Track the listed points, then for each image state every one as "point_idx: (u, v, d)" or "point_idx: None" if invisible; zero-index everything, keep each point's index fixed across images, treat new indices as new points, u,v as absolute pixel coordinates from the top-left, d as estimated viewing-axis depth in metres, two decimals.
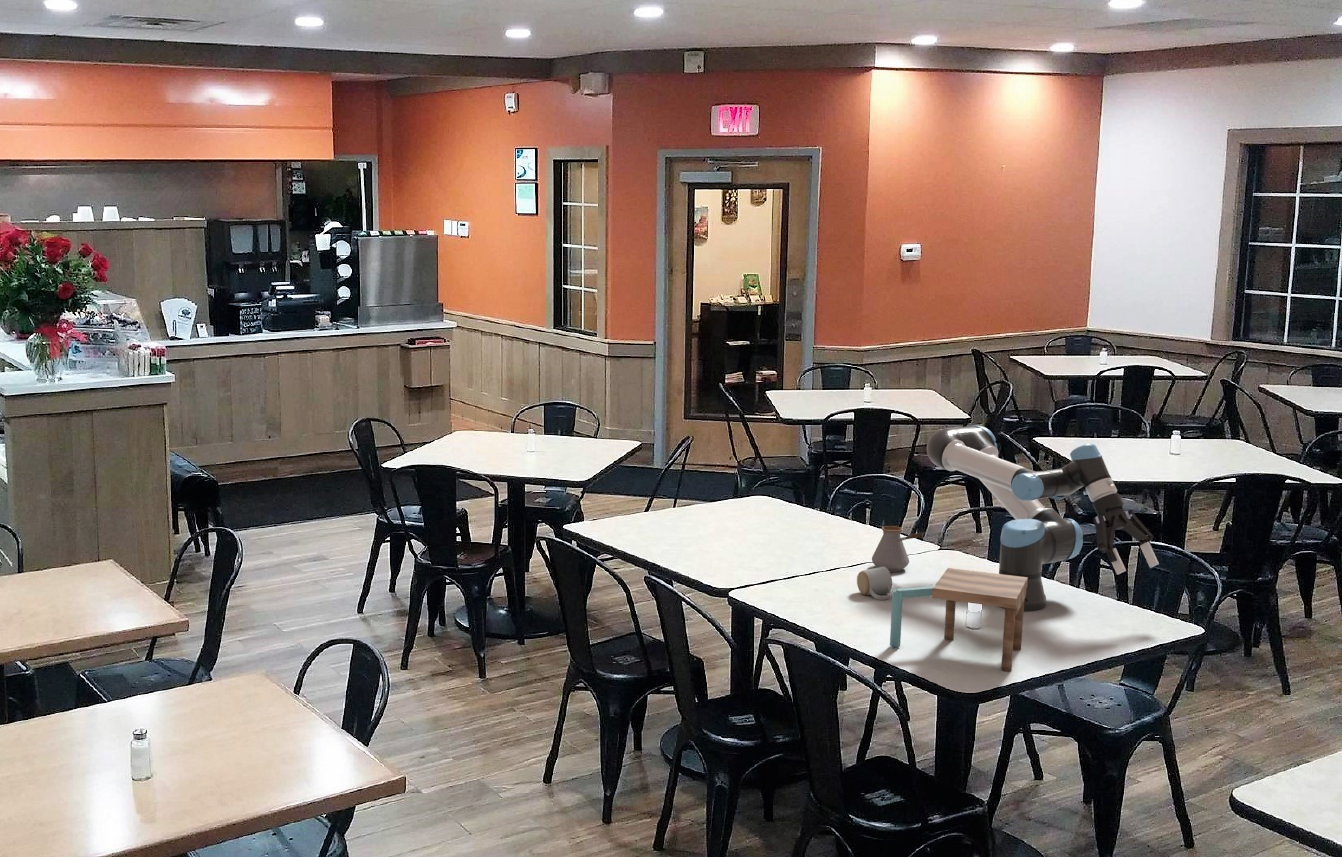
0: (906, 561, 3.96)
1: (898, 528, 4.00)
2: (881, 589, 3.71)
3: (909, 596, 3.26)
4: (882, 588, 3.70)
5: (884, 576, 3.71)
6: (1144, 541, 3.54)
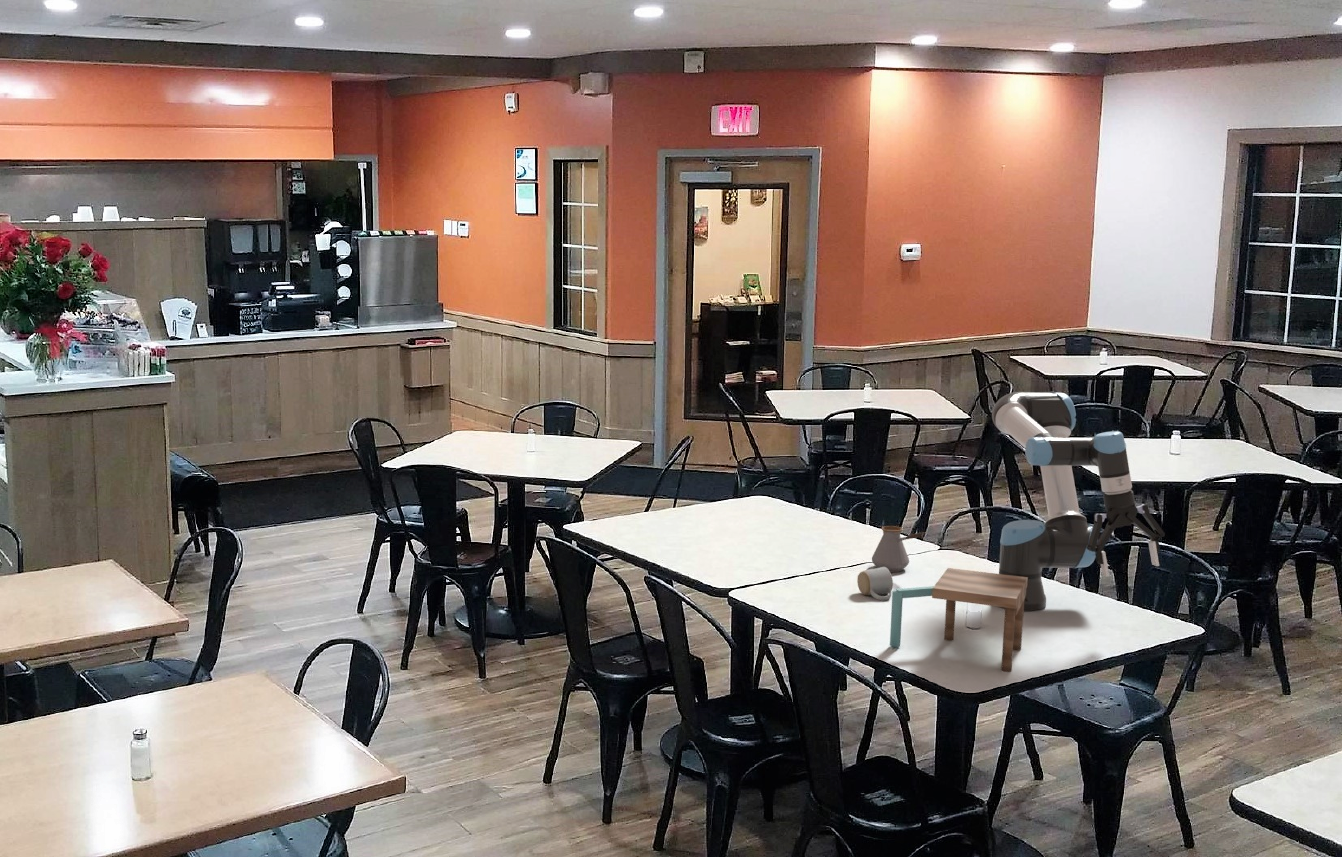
0: (906, 561, 3.96)
1: (898, 528, 4.00)
2: (882, 589, 3.70)
3: (909, 596, 3.26)
4: (883, 588, 3.70)
5: (885, 576, 3.70)
6: (1152, 538, 3.38)
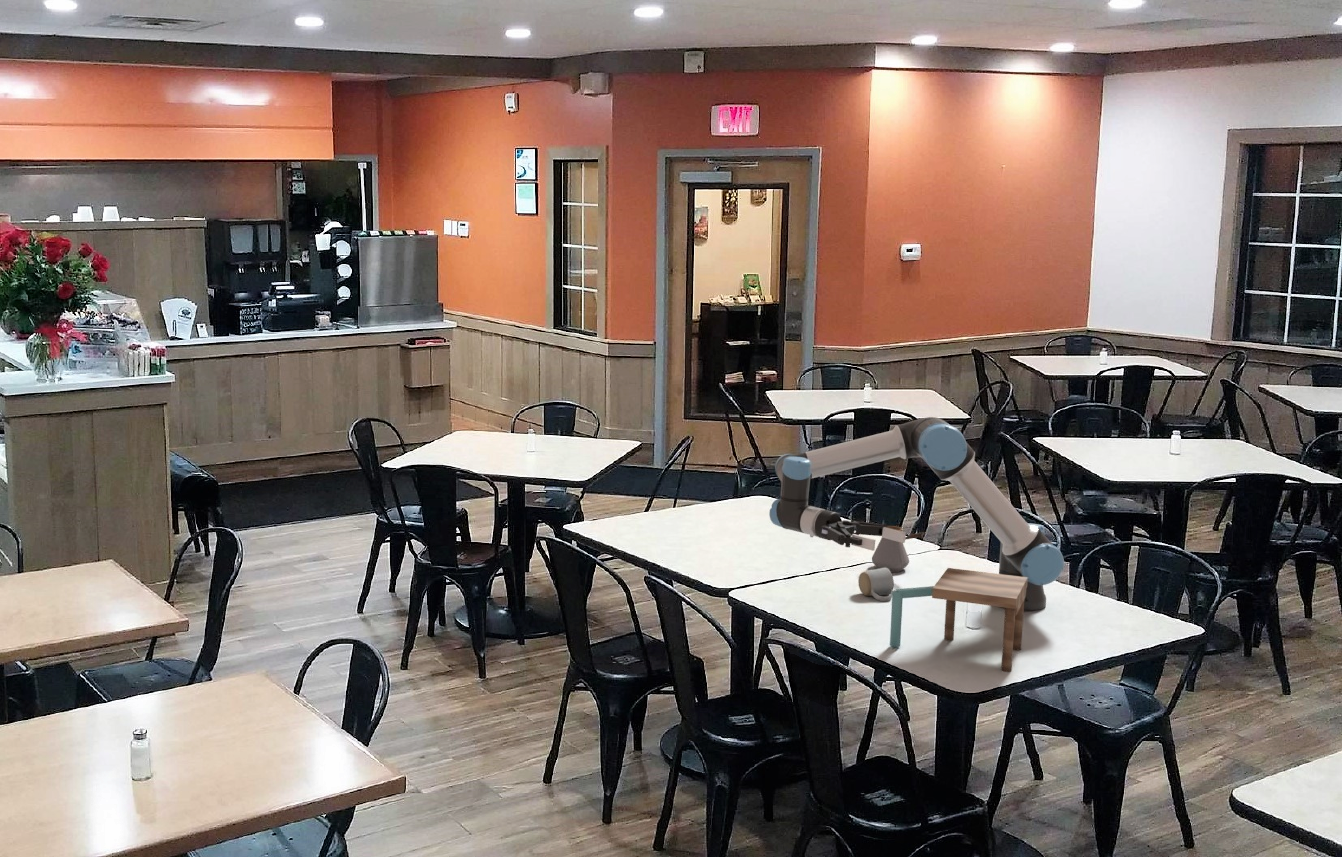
0: (906, 561, 3.96)
1: (898, 528, 4.00)
2: (883, 590, 3.70)
3: (909, 596, 3.26)
4: (884, 589, 3.70)
5: (886, 577, 3.70)
6: None
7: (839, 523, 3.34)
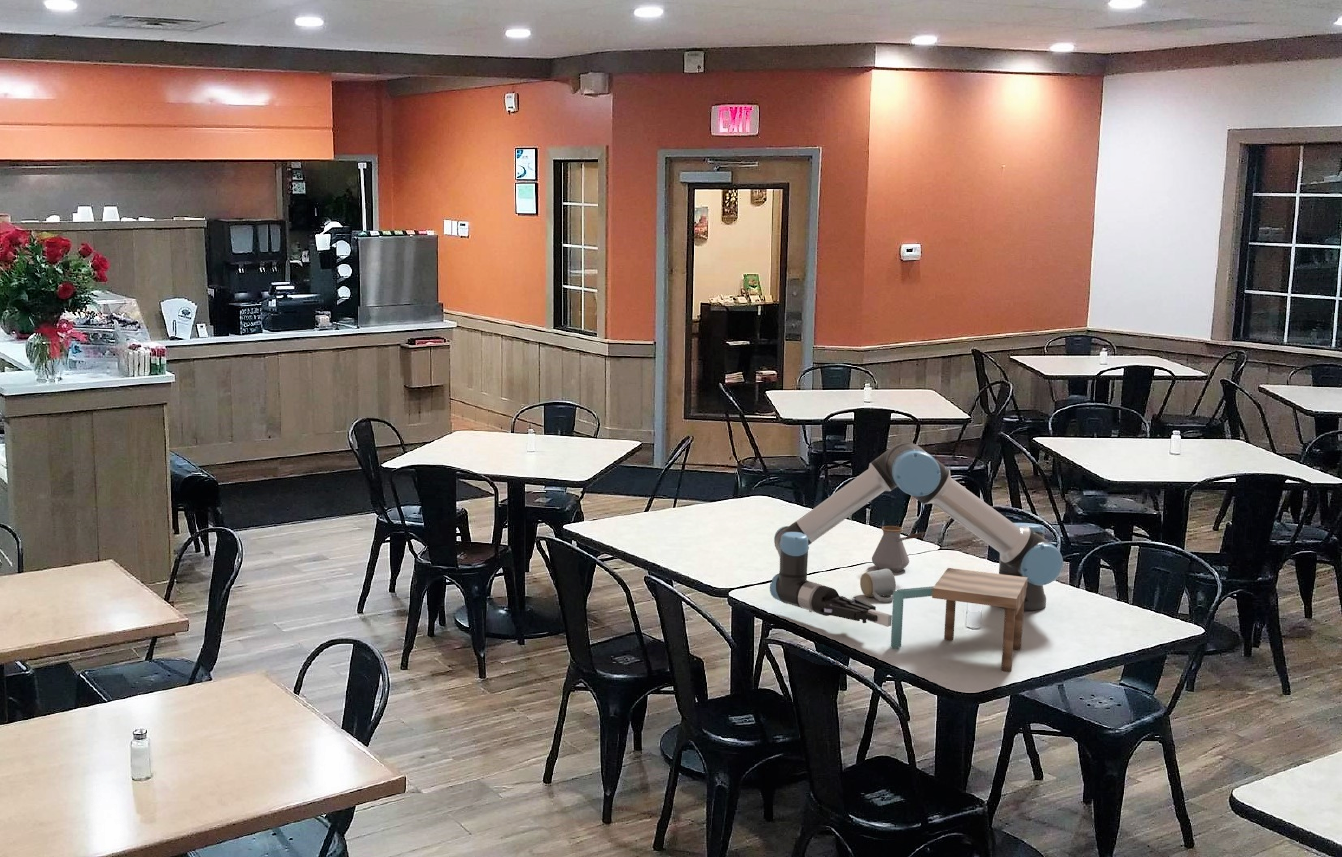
0: (906, 561, 3.96)
1: (898, 528, 4.00)
2: (884, 591, 3.69)
3: (910, 596, 3.26)
4: (885, 590, 3.69)
5: (888, 578, 3.69)
6: None
7: (837, 600, 3.37)
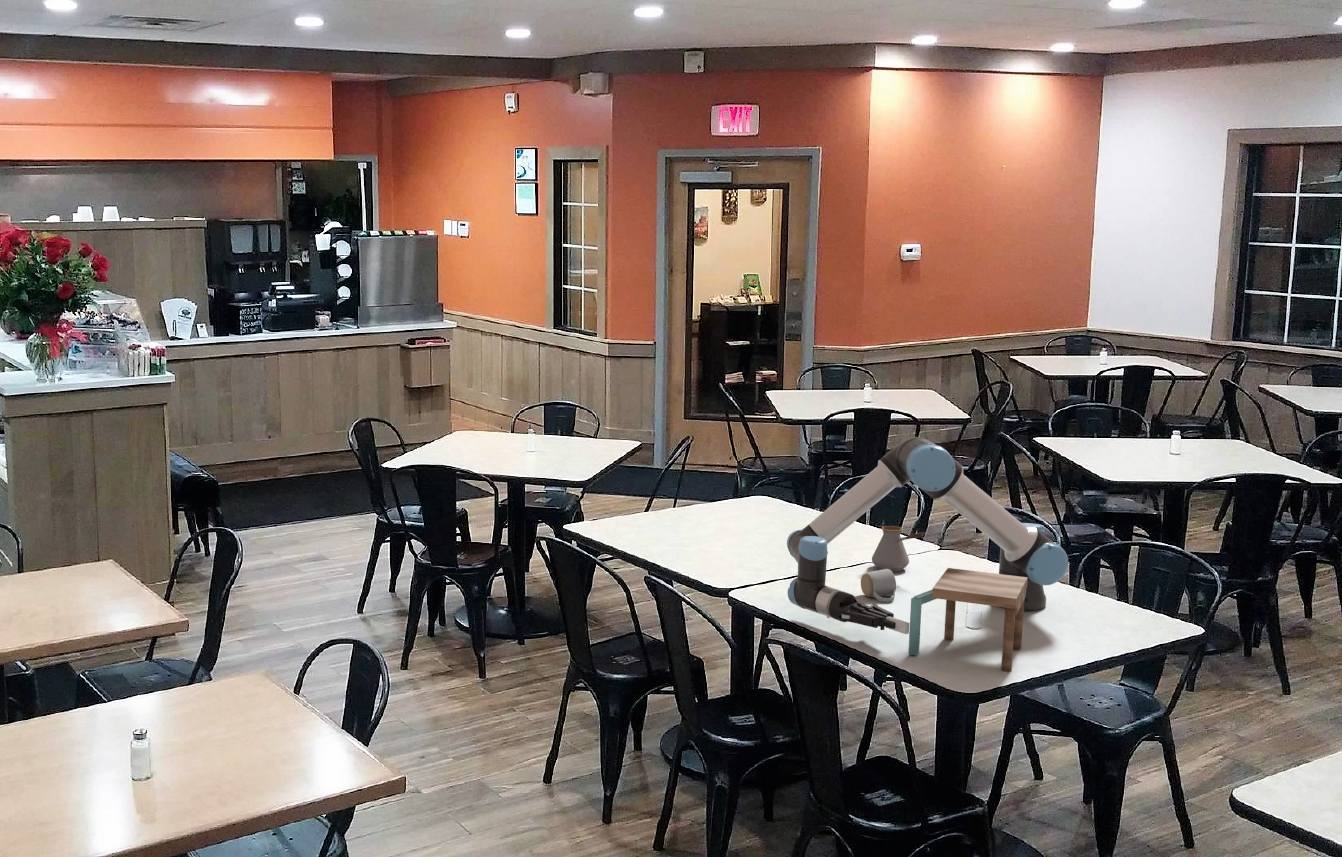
0: (906, 561, 3.96)
1: (898, 528, 4.00)
2: (885, 591, 3.68)
3: (925, 601, 3.22)
4: (886, 590, 3.68)
5: (888, 578, 3.68)
6: None
7: (855, 606, 3.32)
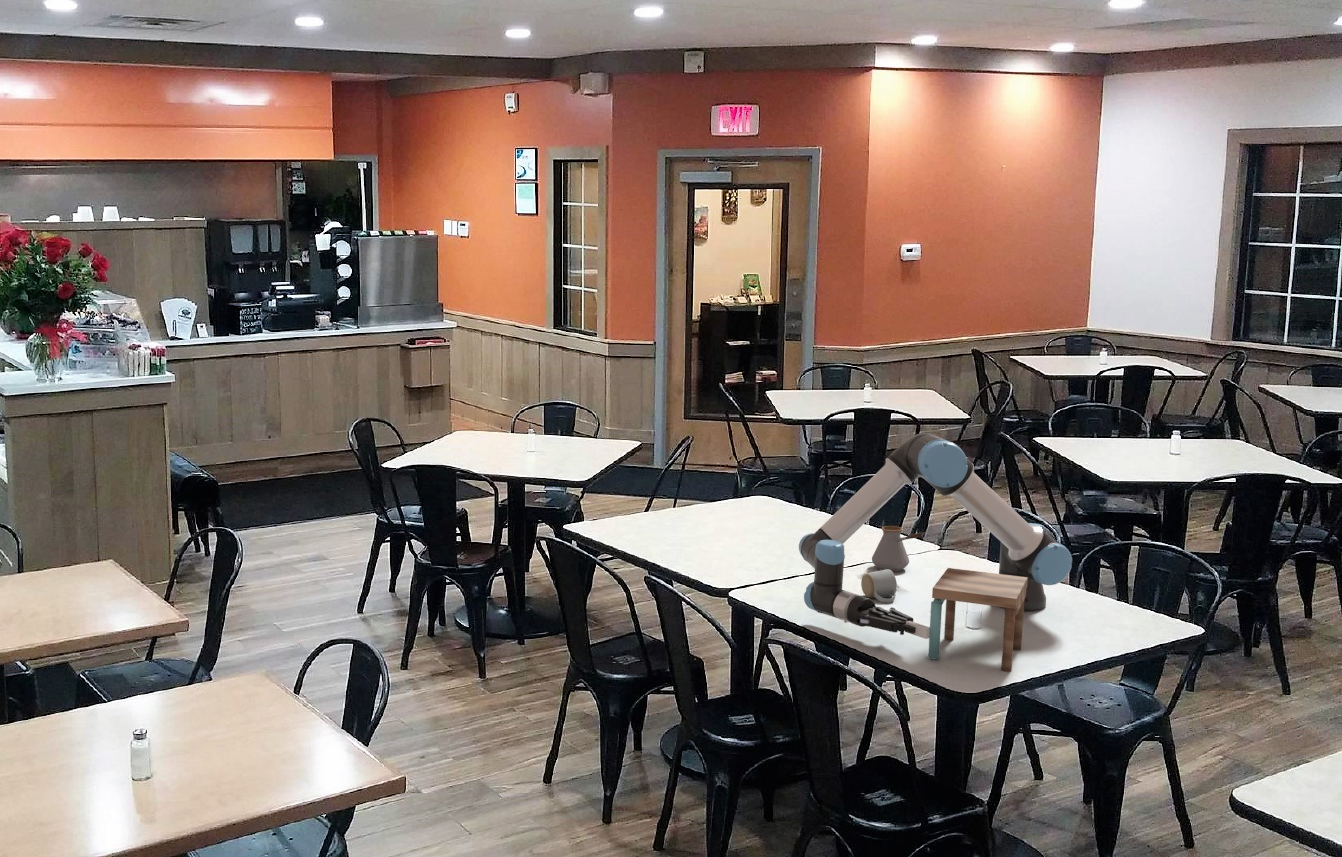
0: (906, 561, 3.96)
1: (898, 528, 4.00)
2: (886, 592, 3.68)
3: None
4: (887, 591, 3.68)
5: (889, 579, 3.68)
6: None
7: (873, 610, 3.29)
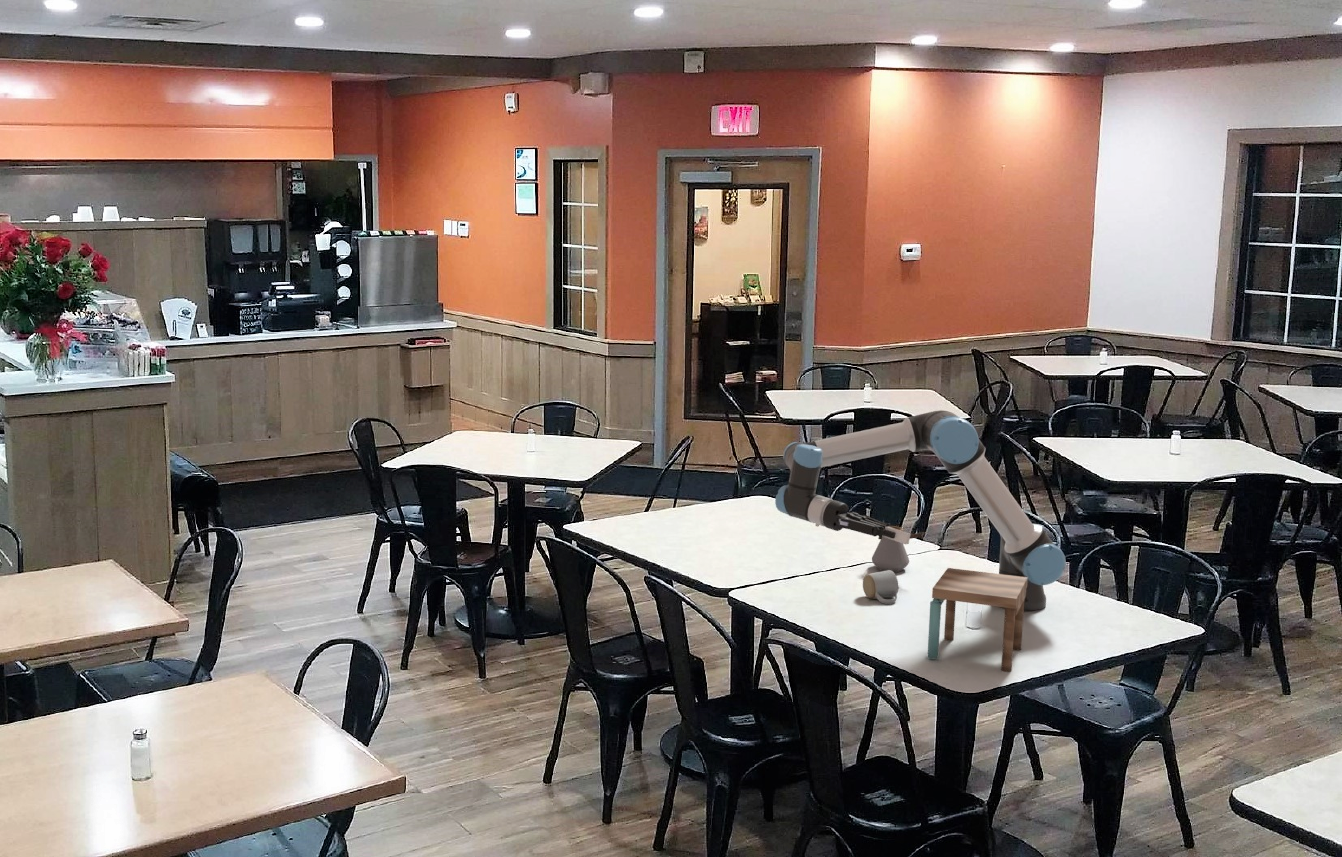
0: (906, 561, 3.96)
1: (898, 528, 4.00)
2: (887, 593, 3.67)
3: (940, 604, 3.20)
4: (888, 592, 3.67)
5: (891, 580, 3.67)
6: None
7: (851, 514, 3.33)
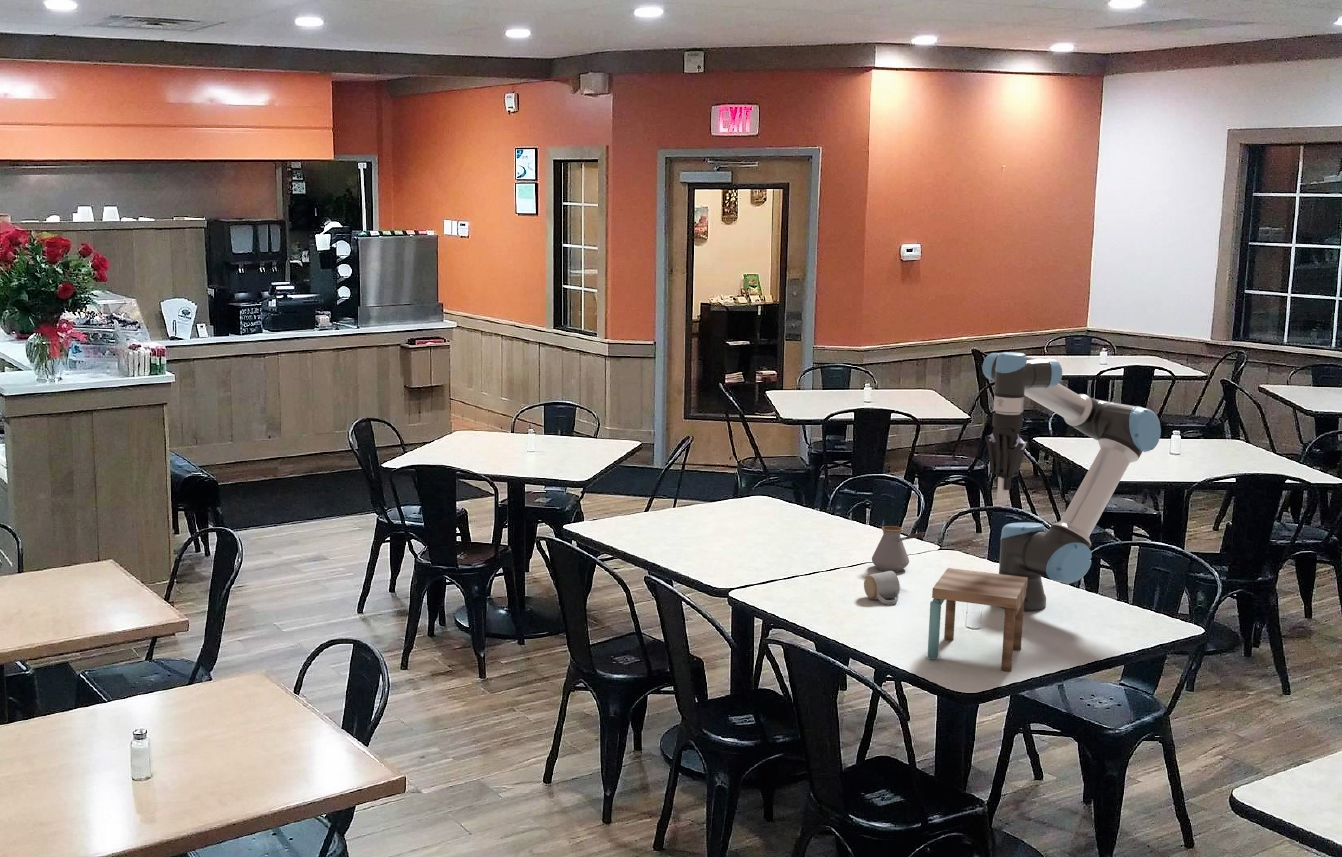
0: (906, 561, 3.96)
1: (898, 528, 4.00)
2: (888, 593, 3.66)
3: (940, 604, 3.20)
4: (889, 592, 3.66)
5: (892, 580, 3.66)
6: None
7: None
